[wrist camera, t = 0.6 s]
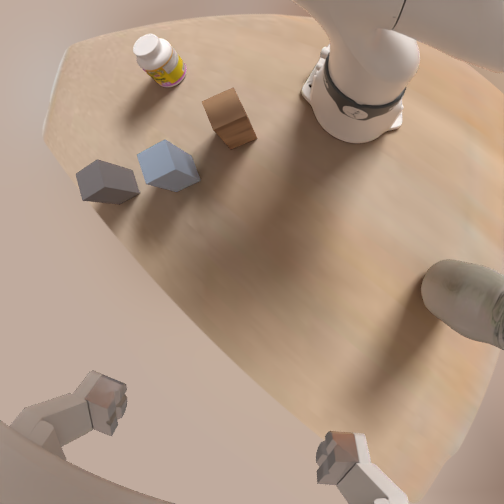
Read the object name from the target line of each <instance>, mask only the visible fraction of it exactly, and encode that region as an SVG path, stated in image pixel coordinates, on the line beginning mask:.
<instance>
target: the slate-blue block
mask: <svg viewBox="0 0 504 504" xmlns="http://www.w3.org/2000/svg"><path fill="white" fill-rule="evenodd" d="M137 157H138V160H139V163H140V166H141V169H142V172H143V176H144V179H145V182H146V184H148V185H152V186H156V187H159V188H163V189H167V190H171V191H174V192H178V191H180V190H182V189H184V188H186V187H188V186H190V185H192V184H195V183H197V182H199V181H201V180H200V177H199V174H198V172H197V169H196V166H195V164H194V161H193V159H192V156H191V155H189V154H188V153H186V152H184V151H183V150H181V149H180V148H178V147H176V146H175V145H173V144H172V143H170V142H168V141H167V140H163V141H161V142H159V143H157V144H155V145H154V146H152V147H150V148H148V149H146V150H144V151H143V152H141V153H139V154H137Z"/></svg>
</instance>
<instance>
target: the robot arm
mask: <svg viewBox="0 0 504 504" xmlns="http://www.w3.org/2000/svg"><path fill="white" fill-rule="evenodd" d="M291 1H293V2H294V3H296V4H297V5H299V6H300V7H301V8H303V9H304V10H305V11H307V12H308V13H309V14H310V15H311V16H312V17H313V18H314V19H315V20H316V21H317V22H318V23H319V24H320V26H321V27H322V28H323V29H324V31H325V32H326V34H327V35H328V37H329V40H330V44H329V45H328V47H323V49H322V51H321V54H320V57H321V58H320V60H319V61H318V63H317V64H316V66H315V68H314V69H313V71H312V72H311V74H310V76H309V77H308V79H307V81H306V82H305V84H304V86H303V87H302V90H301V93H302V95H303V97H304V98H305V99H306V100H307V101H308V102H309V103H310V104H311V106H312V108H313V111H314V114H315V116H316V119H317V120H318V122H319V123H320V125H321V126H322V127H323V128H324V129H325V130H326V131H327V132H328V133H329V134H331V135H332V136H334V137H336V138H338V139H340V140H342V141H345V142H350V143H365V142H369V141H372V140H374V139H376V138H378V137H379V136H380V135H382V134H383V133H384V132H386V131H390V130H395V129H398V128H399V127H400V126H401V124H402V110H403V105H402V97H403V95H404V93H405V90H406V86H407V85H408V83H409V82H410V81H411V79H412V78H413V77H414V75H415V74H416V72H417V70H418V68H419V63H420V52H419V48H418V45H417V42H416V40H417V41H419V42H422V43H424V44H426V45H428V46H430V47H433V48H435V49H437V50H439V51H441V52H443V53H445V54H447V55H449V56H451V57H453V58H455V59H458V60H461V61H464V62H467V63H469V64H472V65H475V66H478V67H481V68H484V69H487V70H489V71H492V72H495V73H502V72H504V0H291ZM310 85H312V87H311V88H310V87H309V86H310ZM126 390H127V388H126V384H125V383H122V382H120V381H117V380H115V379H112V378H110V377H108V376H105V375H103V374H100V373H98V372H96V371H91V372H89V373H88V375H87V376H86V377H85V379H84V380H83V381H82V383H81V384H80V385H79V386H78V388H77V389H76V390H75V392H74V393H73V394H71V393H68V394H66V395H62V396H60V397H57V398H54V399H51V400H48V401H45V402H42V403H38V404H35V405H32V406H29V407H26V408H24V409H23V410H22V412H21V413H20V414H19V415H18V417H17V418H16V419H15V420H14V421H13V423H12V424H11V425H10V426H8V425H6V424H5V423H3V422H2V421H1V420H0V504H174V503H171V502H167V501H164V500H160V499H157V498H154V497H151V496H148V495H145V494H142V493H139V492H137V491H134V490H131V489H128V488H125V487H123V486H121V485H118V484H115V483H113V482H111V481H108V480H106V479H104V478H101V477H99V476H97V475H94V474H92V473H90V472H88V471H86V470H84V469H82V468H79V467H78V466H75V465H73V464H72V463H69V462H67V461H66V457H65V455H64V453H63V450H62V448H61V447H62V446H64V445H66V444H68V443H69V442H71V441H73V440H75V439H77V438H79V437H81V436H83V435H85V434H86V433H88V432H90V431H92V430H93V429H94V430H97V431H99V432H102V433H104V434H107V435H110V436H112V435H113V433H114V431H115V429H116V427H117V426H118V422H117V419H120V418H122V416H123V415H124V412H125V410H126V406H127V397H126V395H125V392H126ZM316 463H317V464H318V465H319V466H320V467H319V469H318V470H317V482H318V484H329V485H337V487H338V489H339V490H340V492H341V493H342V495H343V496H344V498H345V499H346V500H347V502H348V503H349V504H409V502H408V498H407V495H406V494H405V493H404V492H403V491H402V490H401V489H400V488H399V487H398V486H397V485H396V484H395V483H394V482H393V481H391V480H390V479H389V478H388V477H387V476H386V475H385V474H384V473H383V472H382V471H381V470H380V469H379V467H378V466H377V465H376V464H375V463H371V459H370V454H369V450H368V445H367V441H366V436H365V435H364V434H362V433H350V432H336V431H329V432H328V433H327V434H326V436H325V441H323V442H321V444H320V445H319V447H318V450H317V453H316Z"/></svg>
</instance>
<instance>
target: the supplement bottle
mask: <svg viewBox="0 0 504 504" xmlns="http://www.w3.org/2000/svg"><path fill="white" fill-rule="evenodd" d="M133 52H134V54H135V55H136V56H137V63H138V65H139V66H140V67H141V68H142V69H143V70H144V71H145V72H146V73H147V74H148V75H149V76H151V77H152V78H153V79H154V80H155V81H156V82H157V83H158V84H159V85H160V86H163V87H173V86H175V85H177V84H179V83H180V82H181V81H182V80H183V79H184V77H185V75H186V72H187V68H186V65H185V63H184V62H183V60H182V59H181V58H180V56H179V55H178V54H177V52H176V51H175V50H174V49H173V47H172V46H171V45H170V43H169V42H168V41H166V40H165V39H161V38H158V37H157V36H156V35H154V34H147V35H144V36H142V37H140V38H139V39H138V40H137V41H136V43H135V44H134V47H133Z"/></svg>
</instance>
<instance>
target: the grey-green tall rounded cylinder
mask: <svg viewBox="0 0 504 504" xmlns="http://www.w3.org/2000/svg"><path fill="white" fill-rule="evenodd" d="M421 294H422V298H423V302H424V304H425V306H426V307H427V309H428V310H429V311H430V312H431V313H432V314H433V315H435V316H436V317H437V318H439V319H440V320H442V321H443V322H444V323H445V324H447V325H448V326H449V327H451V328H452V329H453V330H455V331H456V332H458V333H459V334H461V335H463V336H464V337H467V338H469V339H472V340H475V341H479V342H484V343H488V344H491V345H494V346H496V347H498V348H500V349H502V350H504V275H502V274H501V273H499V272H497V271H496V270H494V269H491V268H489V267H486V266H482V265H478V264H473V263H467V262H462V261H458V260H442V261H439V262H438V263H436V264H434V265H433V266H431V267H430V268H429V269H428V271H427V273H426V274H425V276H424V278H423V282H422V286H421Z"/></svg>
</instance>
